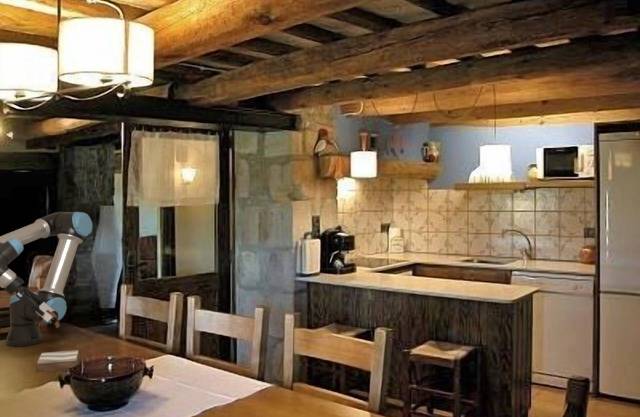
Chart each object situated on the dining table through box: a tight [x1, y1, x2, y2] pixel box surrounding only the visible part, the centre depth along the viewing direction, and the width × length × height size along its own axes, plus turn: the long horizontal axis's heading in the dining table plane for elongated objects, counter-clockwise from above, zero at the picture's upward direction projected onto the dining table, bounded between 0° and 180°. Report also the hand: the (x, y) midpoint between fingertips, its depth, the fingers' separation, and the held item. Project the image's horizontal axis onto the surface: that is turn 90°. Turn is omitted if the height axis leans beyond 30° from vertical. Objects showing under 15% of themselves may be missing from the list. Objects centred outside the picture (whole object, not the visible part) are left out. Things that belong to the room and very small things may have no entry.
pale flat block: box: [37, 349, 80, 373], centre depth 246 cm, size 14×14×4 cm
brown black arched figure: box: [33, 310, 61, 329], centre depth 260 cm, size 12×10×8 cm
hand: (51, 316), depth 260 cm, fingers closed on brown black arched figure, 11 cm apart
